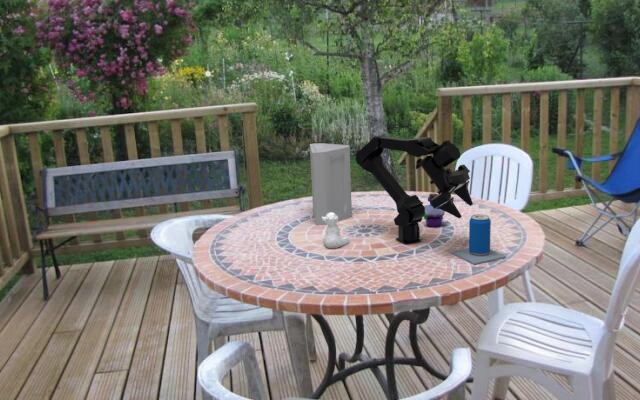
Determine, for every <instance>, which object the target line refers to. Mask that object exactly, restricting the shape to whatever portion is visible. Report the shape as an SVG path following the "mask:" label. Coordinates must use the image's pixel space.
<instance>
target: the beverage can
mask: <svg viewBox="0 0 640 400" xmlns="http://www.w3.org/2000/svg"><path fill="white" fill-rule="evenodd" d="M491 223H492V220H491V218H490V216H489V215H487V214H484V213H483V214H481V213H476V214H473V215H471V216H470V219H469V224H468V225H469V230H468V238H469V239H468V248H469V251H470V252H471V253H472V254H474V255H480V256H481V255H486V254H487V253H489V252H490V249H491V227H492V226H491Z"/></svg>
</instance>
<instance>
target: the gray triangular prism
mask: <svg viewBox="0 0 640 400" xmlns="http://www.w3.org/2000/svg"><path fill="white" fill-rule="evenodd" d="M350 146H351V145H348V144H337V143H335V144H334V143H324V142H323V143H321V142H319V143H309V155H310V156H309V157H310V159H309V160H310V176H311V179H310V180H311V194H312V195H311V197H312V213H313V219H314V223H315V226H328V224H326V223H325V221H323V220H322V217H325V216H326V214H328V213H332V212H333V213H335V214H336V215H337V216H338V222H341V221H345V220H347V219H349V218H350V219H351V218H352V217H353V210H352V209H353V208H352V207H353V205H352V178H351V177H352V176H351V175H352V174H351V149H350Z"/></svg>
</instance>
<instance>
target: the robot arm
mask: <svg viewBox="0 0 640 400" xmlns="http://www.w3.org/2000/svg"><path fill="white" fill-rule="evenodd" d="M385 149H386V150H392V151H393V150H394V151H401V152H405V153H407V154H408V155H410V156H412V157H415V158H418V159H417V160H416V161H415V162H416V164H415V170H418V169H420V168H422V169H423V171H424V172H425V173H426V175H427V177H429V179H430V181H429V183H430V185H433V184H434V185H435V187H436V188H437V189H438V191H437V193H436V194H438V195H437V196H435V197H434V198H433V199H432V200H431V205H432V207H433V208H434V209H435V208H437V209H441V210H443V211H445V212H446V213H448V214H450V215H452V216H454V217H455V218H458V219H461V218H462V214H461V213H460V210H459V209H458V208H457V206H456V205H455V202H454V196H452V193H454V194H455V195H456V196H458V197H459V198H460V199H461V200H462V201H463V202H464V203H465V204H467V205H468V206H470V207H472V206H473V205H474V203H473V201H472V198H471V194H470V192H469V183H470V179H471V177H470V174H469V173H470V172H471V170H470V169H469V168H468V167H467V166H466V165H465V164H460V165H459V166H458V168H457V169H456V170H454V171H452V170H451V169H450V168H449V167H448V166H450V165H451V164H452V163H454V162H455V161H457V160H459V159H460V157H461V151H460V148H459V147H458V146H456V145H455V144H454V143H452V142H451V140H450V139H447V140H444V141H443V142H442V143H441V144H438V143H436V142H435V141H433V139H432V138H431V137H429V136H424V137H416V138H406V137H396V136H387V135H384V134H383V135H382V134H381V135H376V136H373V137H372V138H371V139H370V140H369V142H367V143H366V144H365V145H364V146H362V147H361V148H360V149H359V150H357V152H356V153H355V162H356V164H357V165H358V166H360V168H361V169H362V170H364V171H366V172H368V173H371V174H372V176H373V177H375V179H376V181H377V182H378V183H379V184H380V186H382V188H383V189H384V190H385V191H386V194H388V195H389V196H390V197H391V199H392V200H393V201H394V203H395V205H396V211H397V212H396V213H398V214H397V216H395V217H394V218H393V221H394V225H395V226H397V233H398V235H397V236H398V237H396V238H395V241H398V242H400V243H402V244H404V245H409V244H414V243H415V244H416V243H420V242H422V239H420V230H421V228H420V226H419V223H422V220H423V218H424V215H425V207H424V206H425V205H424V202H423V201H421V200H420V198H419V196H418V195H416V194H413V195H409V194H408V193H407V192H406V191H405V190H404V188H403V187H402V186H401V185H400V184H399V183H398V181H397V180H396V179H395V178H394V176H393V175H392V174H391V173H390V171H389V170H388V169H387V168H386V166H385V165H384V162H383V156H382V155H383V153H384V151H385ZM421 157H424V158H421ZM446 167H448V168H446Z"/></svg>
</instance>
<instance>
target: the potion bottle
mask: <svg viewBox="0 0 640 400" xmlns="http://www.w3.org/2000/svg"><path fill="white" fill-rule="evenodd" d="M437 195H438V193H429V195H428V197H427V202H428V203H429V204H425V205H423V206H424V207H425V215H424V217H423V218H424V220H425V224H426V227H428V228H431V229H432V228H433V229H437V228H441V227H442V223H443V219H444V215H445V211H443V210H441V209H437V208H435V209H434V208H433V207H432V205H431V200H432V199H433V198H434V197H435V196H437Z"/></svg>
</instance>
